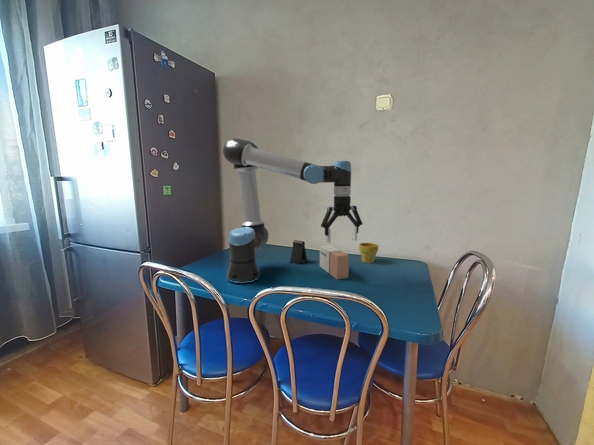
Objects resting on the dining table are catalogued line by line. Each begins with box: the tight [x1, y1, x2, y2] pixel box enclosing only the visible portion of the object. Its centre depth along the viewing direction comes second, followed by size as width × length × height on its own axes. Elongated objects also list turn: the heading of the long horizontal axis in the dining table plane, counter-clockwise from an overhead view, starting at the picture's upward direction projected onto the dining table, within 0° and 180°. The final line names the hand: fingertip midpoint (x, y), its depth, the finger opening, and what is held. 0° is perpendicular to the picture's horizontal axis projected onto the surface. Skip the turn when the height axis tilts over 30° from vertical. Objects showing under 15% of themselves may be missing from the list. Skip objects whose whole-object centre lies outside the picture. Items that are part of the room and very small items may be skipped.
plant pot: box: [358, 242, 379, 264], centre depth 158 cm, size 10×10×10 cm
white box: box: [319, 244, 341, 274], centre depth 145 cm, size 6×12×11 cm, turn 18°
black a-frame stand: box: [289, 239, 308, 265], centre depth 158 cm, size 9×6×12 cm, turn 147°
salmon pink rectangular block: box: [328, 250, 350, 280], centre depth 135 cm, size 6×8×11 cm
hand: (341, 241), depth 132 cm, fingers open, 13 cm apart
